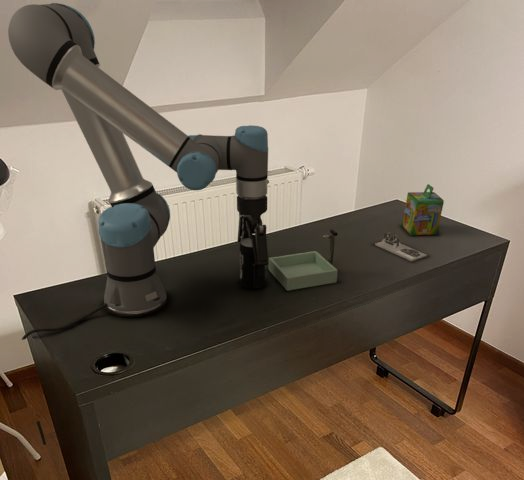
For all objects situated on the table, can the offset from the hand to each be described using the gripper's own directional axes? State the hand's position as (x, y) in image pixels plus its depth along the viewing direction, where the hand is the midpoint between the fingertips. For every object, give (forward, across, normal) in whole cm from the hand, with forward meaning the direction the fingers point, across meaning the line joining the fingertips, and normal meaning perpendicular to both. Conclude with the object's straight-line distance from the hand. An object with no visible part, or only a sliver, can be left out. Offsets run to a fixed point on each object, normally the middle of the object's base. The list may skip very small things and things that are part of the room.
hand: (252, 278), depth 140 cm
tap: (+2, 0, -23) cm, 23 cm away
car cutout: (+2, +6, -50) cm, 50 cm away
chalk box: (+2, +18, -65) cm, 67 cm away
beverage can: (+2, 0, 0) cm, 2 cm away
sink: (+2, 0, -14) cm, 15 cm away
